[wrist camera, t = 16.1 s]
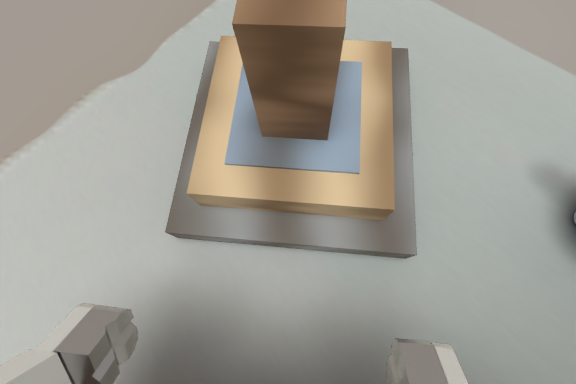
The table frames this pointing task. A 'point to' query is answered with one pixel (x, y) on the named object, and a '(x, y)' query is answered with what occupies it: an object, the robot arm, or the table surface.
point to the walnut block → (291, 62)
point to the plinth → (302, 162)
